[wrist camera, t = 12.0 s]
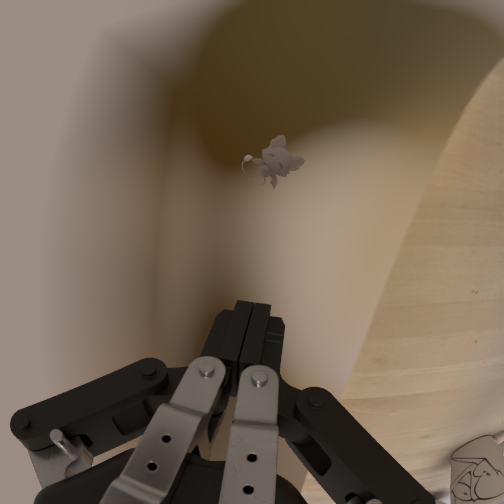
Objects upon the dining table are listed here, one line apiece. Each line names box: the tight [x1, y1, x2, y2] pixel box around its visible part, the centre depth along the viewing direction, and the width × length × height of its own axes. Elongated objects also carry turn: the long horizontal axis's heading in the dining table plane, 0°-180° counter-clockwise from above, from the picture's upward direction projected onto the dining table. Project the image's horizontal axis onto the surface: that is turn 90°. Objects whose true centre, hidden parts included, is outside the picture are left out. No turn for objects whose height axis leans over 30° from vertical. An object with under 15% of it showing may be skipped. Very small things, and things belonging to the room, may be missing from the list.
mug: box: [450, 436, 504, 504], centre depth 18 cm, size 11×8×10 cm
